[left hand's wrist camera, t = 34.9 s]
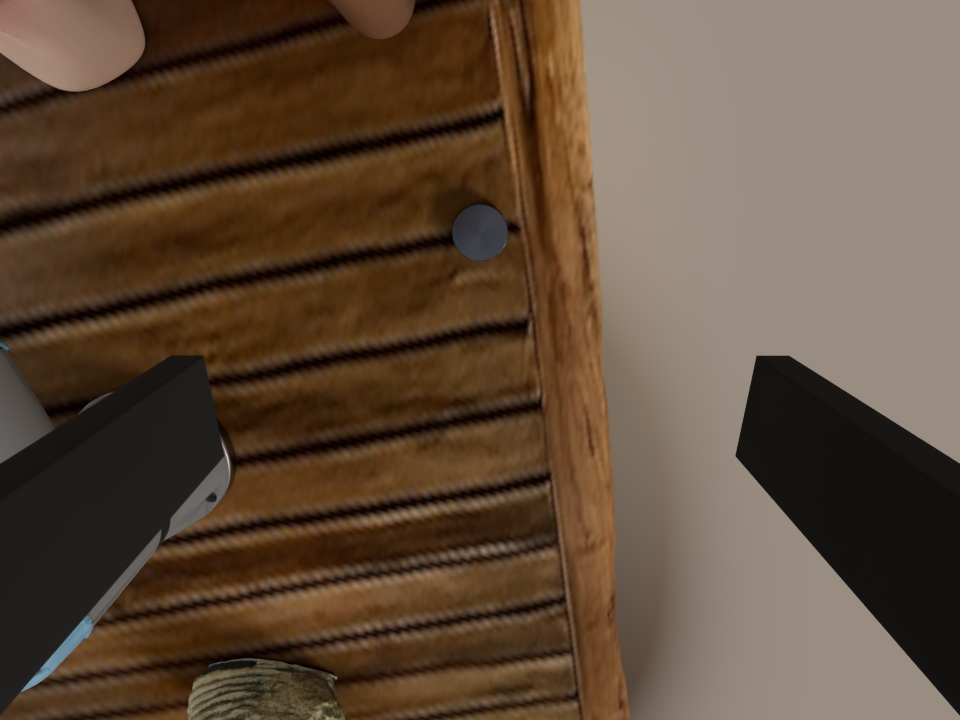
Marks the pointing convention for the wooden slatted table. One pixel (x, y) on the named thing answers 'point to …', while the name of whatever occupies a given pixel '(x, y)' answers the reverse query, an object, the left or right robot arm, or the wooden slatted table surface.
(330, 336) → the wooden slatted table surface
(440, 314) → the wooden slatted table surface
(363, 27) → the bottle
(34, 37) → the anatomical model
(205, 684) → the fossil
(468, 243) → the cap
